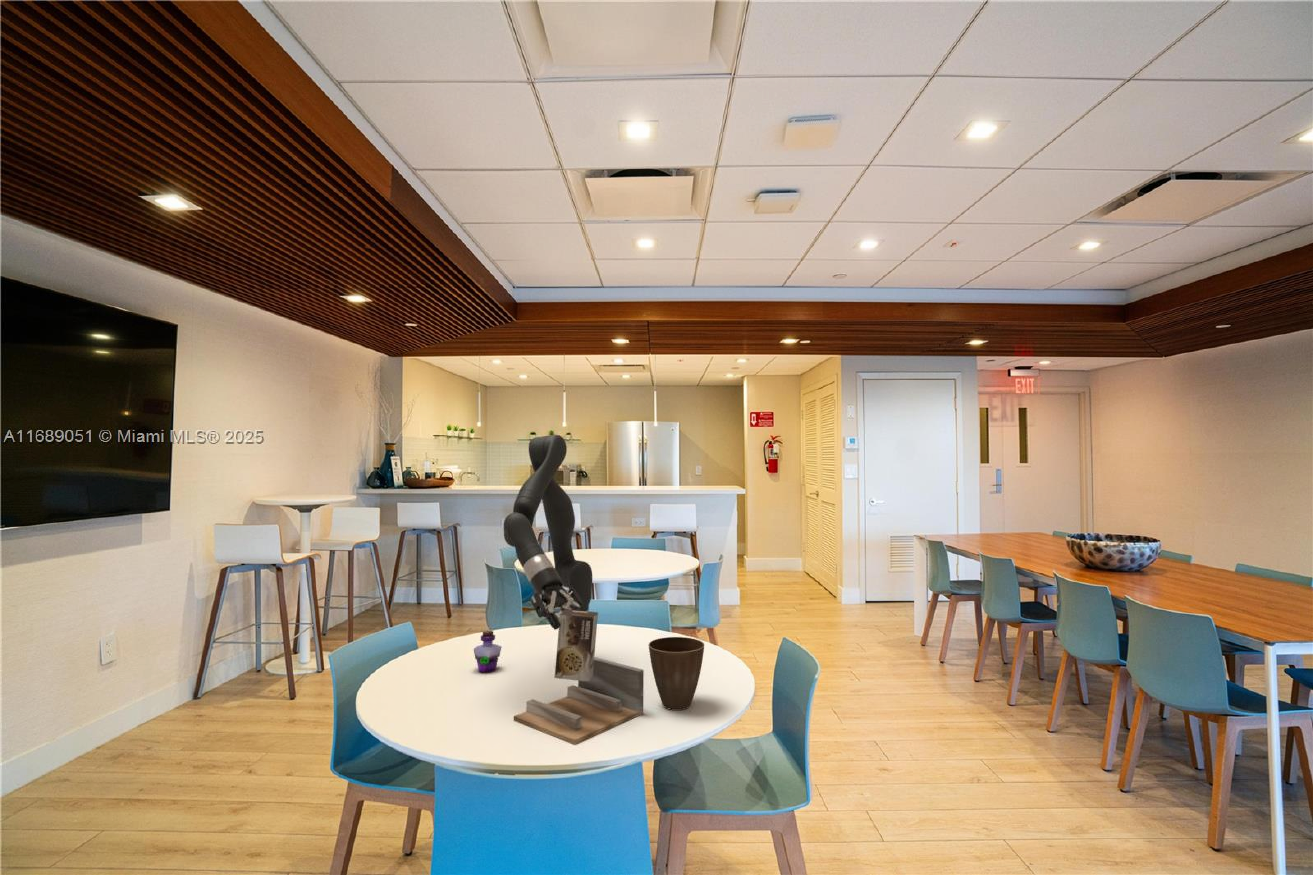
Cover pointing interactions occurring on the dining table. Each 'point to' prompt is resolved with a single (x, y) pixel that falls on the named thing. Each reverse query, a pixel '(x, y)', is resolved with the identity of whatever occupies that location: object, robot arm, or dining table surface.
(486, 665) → the potion bottle
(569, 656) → the coffee box
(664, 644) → the plant pot
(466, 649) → the dining table surface
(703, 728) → the dining table surface
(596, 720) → the track board
